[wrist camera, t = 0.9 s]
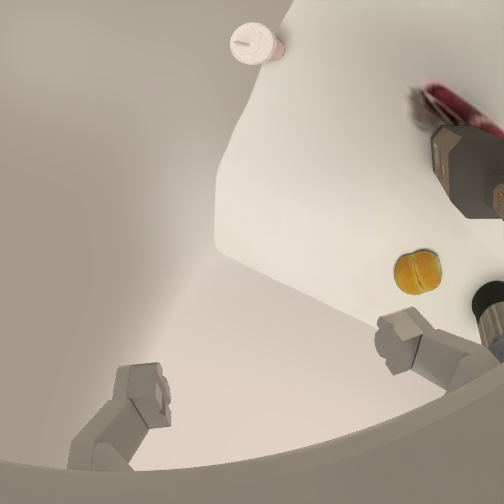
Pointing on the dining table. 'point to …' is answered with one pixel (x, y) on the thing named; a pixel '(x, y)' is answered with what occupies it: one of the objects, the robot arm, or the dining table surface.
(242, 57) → the smoothie
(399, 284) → the bread roll
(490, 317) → the milk frother
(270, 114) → the dining table surface
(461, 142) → the liquor
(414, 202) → the dining table surface
